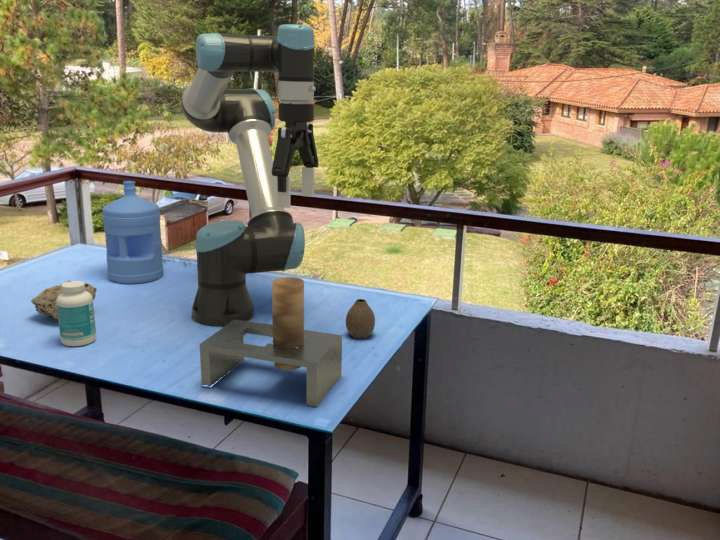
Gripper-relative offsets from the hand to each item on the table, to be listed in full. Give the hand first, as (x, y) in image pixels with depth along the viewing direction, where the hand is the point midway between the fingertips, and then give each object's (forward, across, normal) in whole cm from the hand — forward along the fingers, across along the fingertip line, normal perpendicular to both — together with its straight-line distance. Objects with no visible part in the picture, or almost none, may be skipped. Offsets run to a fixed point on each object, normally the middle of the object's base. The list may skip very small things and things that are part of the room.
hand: (296, 201), depth 147 cm
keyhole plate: (+32, -24, -5) cm, 40 cm away
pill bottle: (+32, -21, +44) cm, 58 cm away
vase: (+32, +5, -14) cm, 35 cm away
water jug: (+32, +24, +61) cm, 73 cm away
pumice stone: (+32, -9, +57) cm, 66 cm away
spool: (+27, -24, -8) cm, 37 cm away
